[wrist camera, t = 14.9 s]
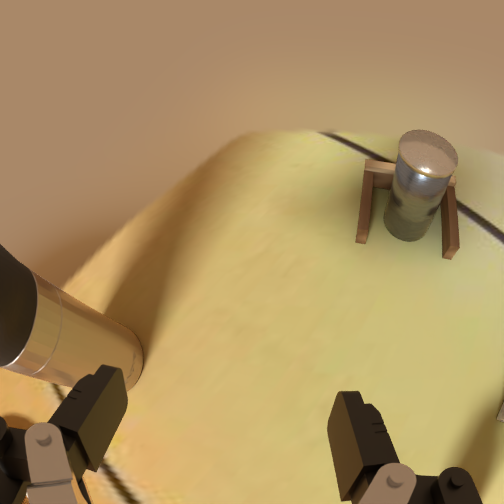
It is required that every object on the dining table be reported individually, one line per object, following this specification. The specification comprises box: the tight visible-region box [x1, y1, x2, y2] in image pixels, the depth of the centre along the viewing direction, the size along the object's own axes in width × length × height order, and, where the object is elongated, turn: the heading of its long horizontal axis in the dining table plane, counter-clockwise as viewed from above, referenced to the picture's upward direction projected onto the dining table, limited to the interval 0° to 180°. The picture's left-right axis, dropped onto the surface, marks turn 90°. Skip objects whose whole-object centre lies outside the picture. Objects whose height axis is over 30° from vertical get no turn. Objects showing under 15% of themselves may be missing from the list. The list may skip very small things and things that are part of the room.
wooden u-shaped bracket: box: [356, 159, 460, 260], centre depth 34 cm, size 12×10×4 cm
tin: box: [384, 130, 458, 242], centre depth 30 cm, size 6×6×12 cm
